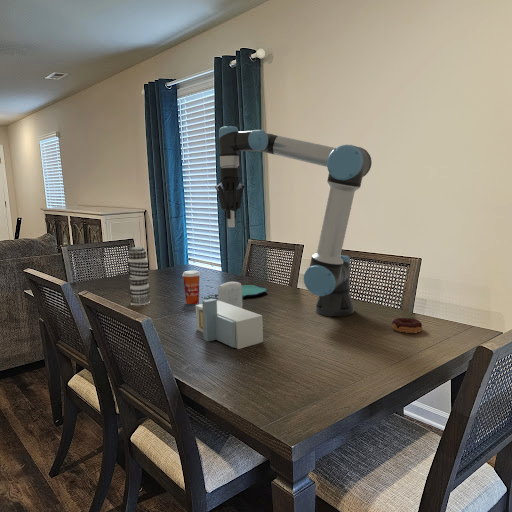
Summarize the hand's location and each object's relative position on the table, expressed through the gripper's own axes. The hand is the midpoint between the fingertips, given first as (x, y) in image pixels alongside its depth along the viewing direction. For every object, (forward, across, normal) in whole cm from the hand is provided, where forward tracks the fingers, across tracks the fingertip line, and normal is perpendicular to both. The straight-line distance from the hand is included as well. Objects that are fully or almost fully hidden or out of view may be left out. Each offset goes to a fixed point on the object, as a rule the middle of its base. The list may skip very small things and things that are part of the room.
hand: (231, 226), depth 183 cm
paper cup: (+35, +8, -21) cm, 41 cm away
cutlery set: (+35, -15, -20) cm, 43 cm away
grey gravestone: (+35, +3, +2) cm, 35 cm away
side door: (+34, +27, +31) cm, 54 cm away
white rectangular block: (+34, +20, +25) cm, 47 cm away
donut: (+35, -30, +62) cm, 77 cm away
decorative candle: (+35, +26, -36) cm, 56 cm away
